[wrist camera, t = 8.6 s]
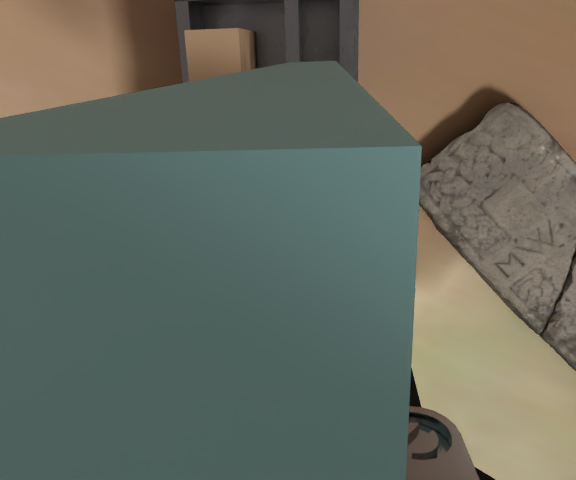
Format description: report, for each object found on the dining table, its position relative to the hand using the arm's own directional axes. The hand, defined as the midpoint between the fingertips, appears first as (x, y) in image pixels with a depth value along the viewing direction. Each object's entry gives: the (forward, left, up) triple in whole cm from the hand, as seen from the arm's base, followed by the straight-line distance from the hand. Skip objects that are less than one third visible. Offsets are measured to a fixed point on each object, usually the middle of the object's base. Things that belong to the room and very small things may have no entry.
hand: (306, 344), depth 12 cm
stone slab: (+11, +19, -29) cm, 36 cm away
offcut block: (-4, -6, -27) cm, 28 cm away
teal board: (0, 0, -9) cm, 9 cm away
